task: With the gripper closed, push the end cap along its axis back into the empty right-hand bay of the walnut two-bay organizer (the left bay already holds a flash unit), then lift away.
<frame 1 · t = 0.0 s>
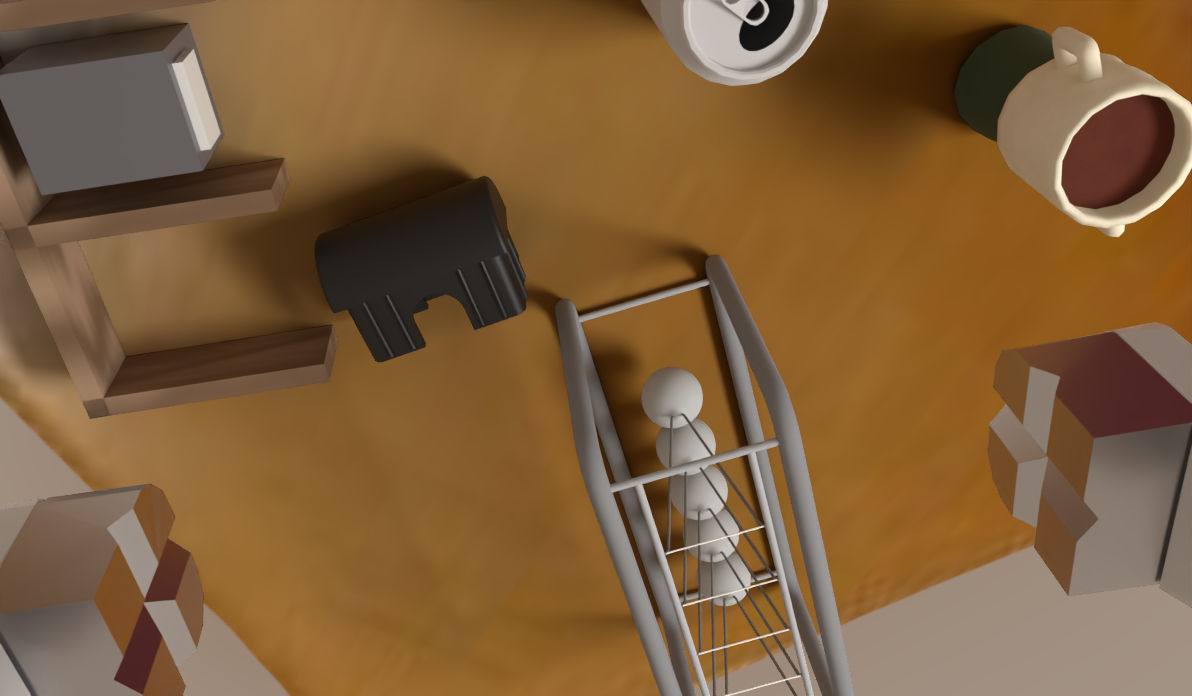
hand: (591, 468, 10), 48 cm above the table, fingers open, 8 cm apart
walnut organizer: (174, 185, 57), on the table
flash unit: (131, 91, 55), resting in walnut organizer
end cap: (428, 235, 61), on the table
newton's cradle: (686, 450, 71), on the table
character mug: (1002, 77, 60), on the table
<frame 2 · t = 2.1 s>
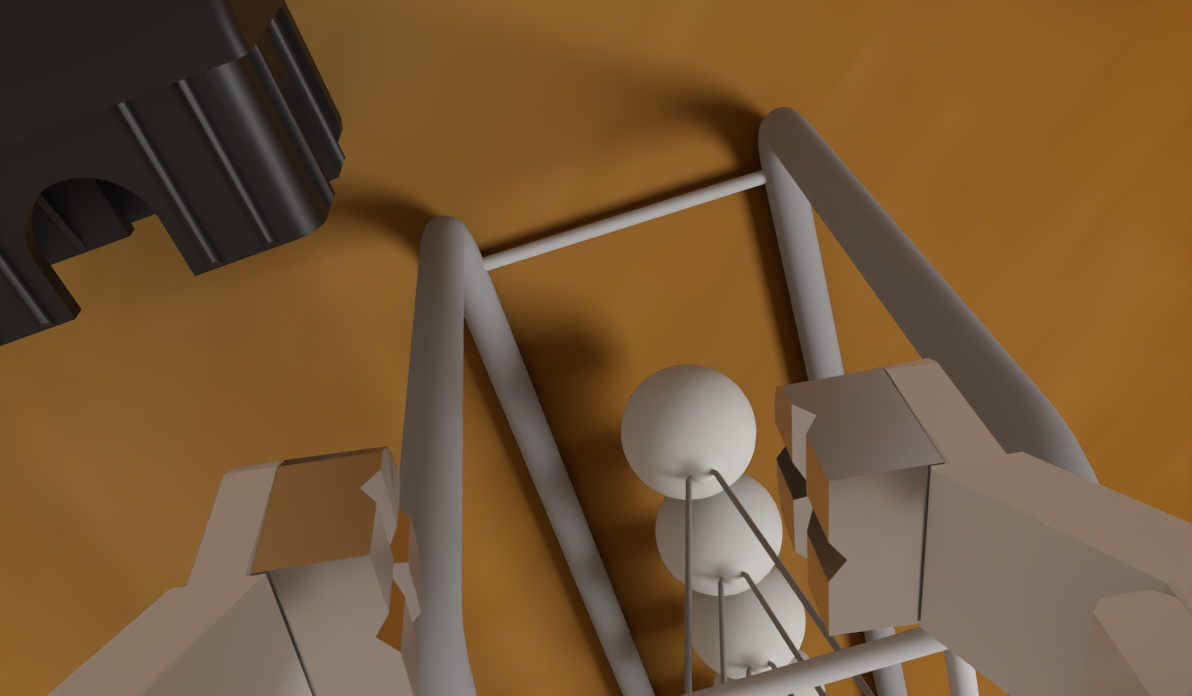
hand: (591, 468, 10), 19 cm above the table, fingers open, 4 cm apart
end cap: (126, 66, 27), on the table
newton's cradle: (716, 526, 37), on the table
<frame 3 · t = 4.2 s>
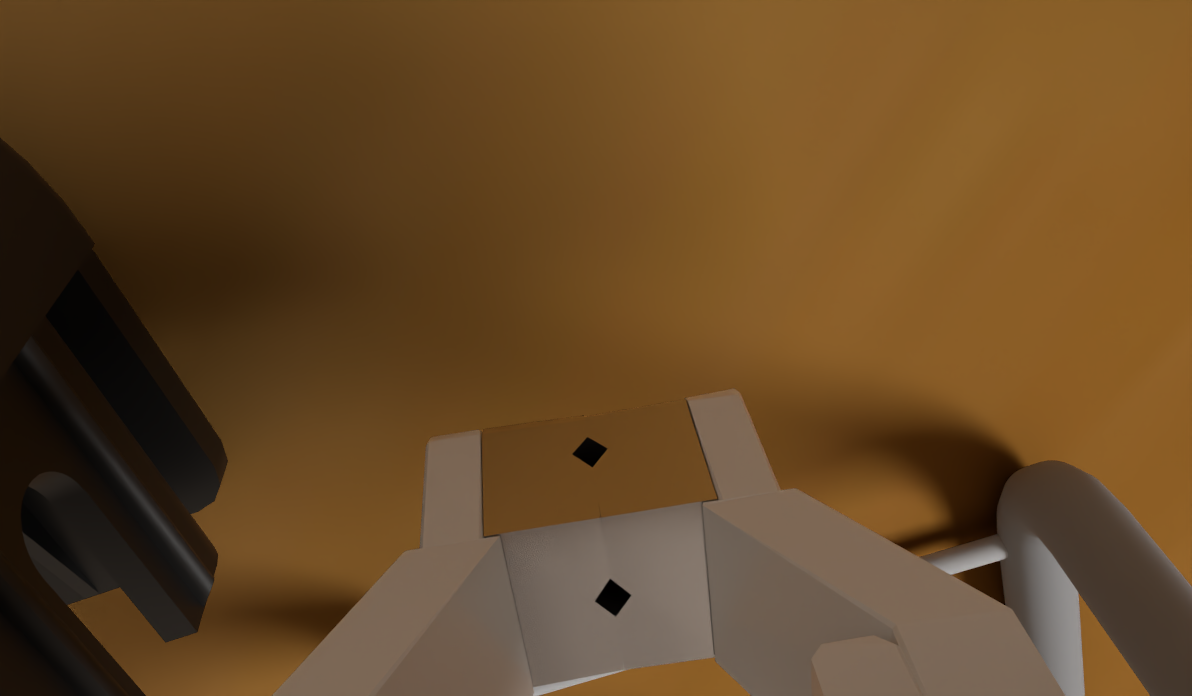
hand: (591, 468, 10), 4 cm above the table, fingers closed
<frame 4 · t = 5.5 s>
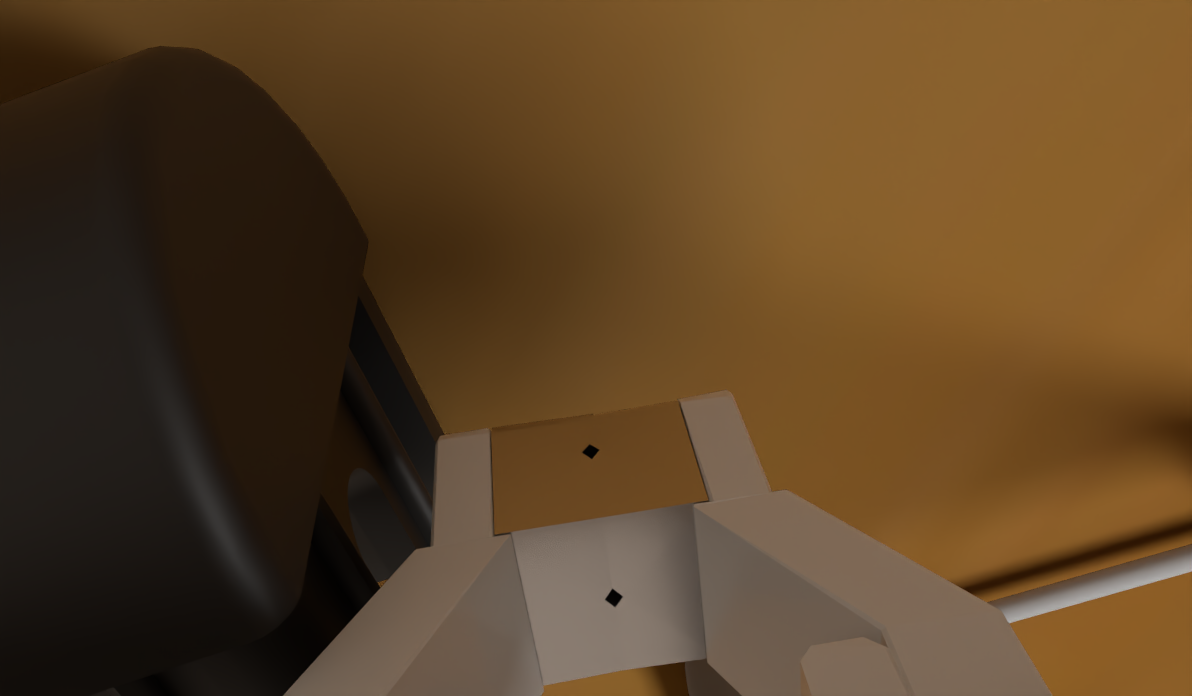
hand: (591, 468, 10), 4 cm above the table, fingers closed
end cap: (27, 365, 13), on the table, touching gripper
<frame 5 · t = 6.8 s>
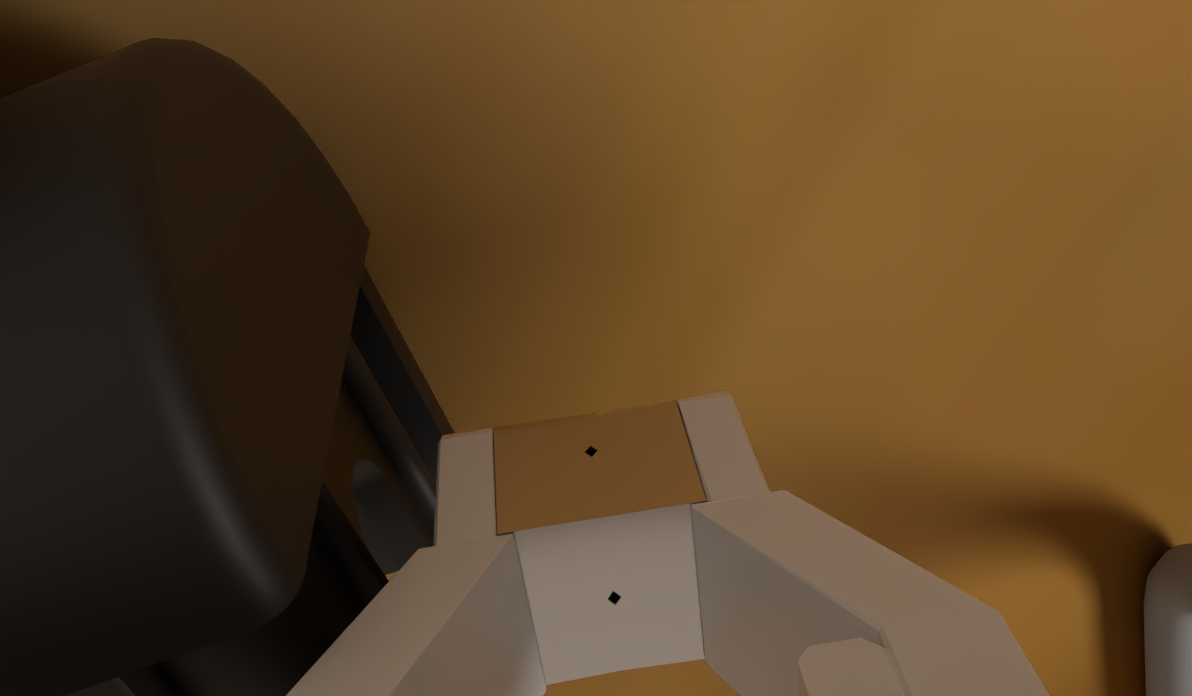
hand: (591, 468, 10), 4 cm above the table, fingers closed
end cap: (34, 364, 13), on the table, touching gripper
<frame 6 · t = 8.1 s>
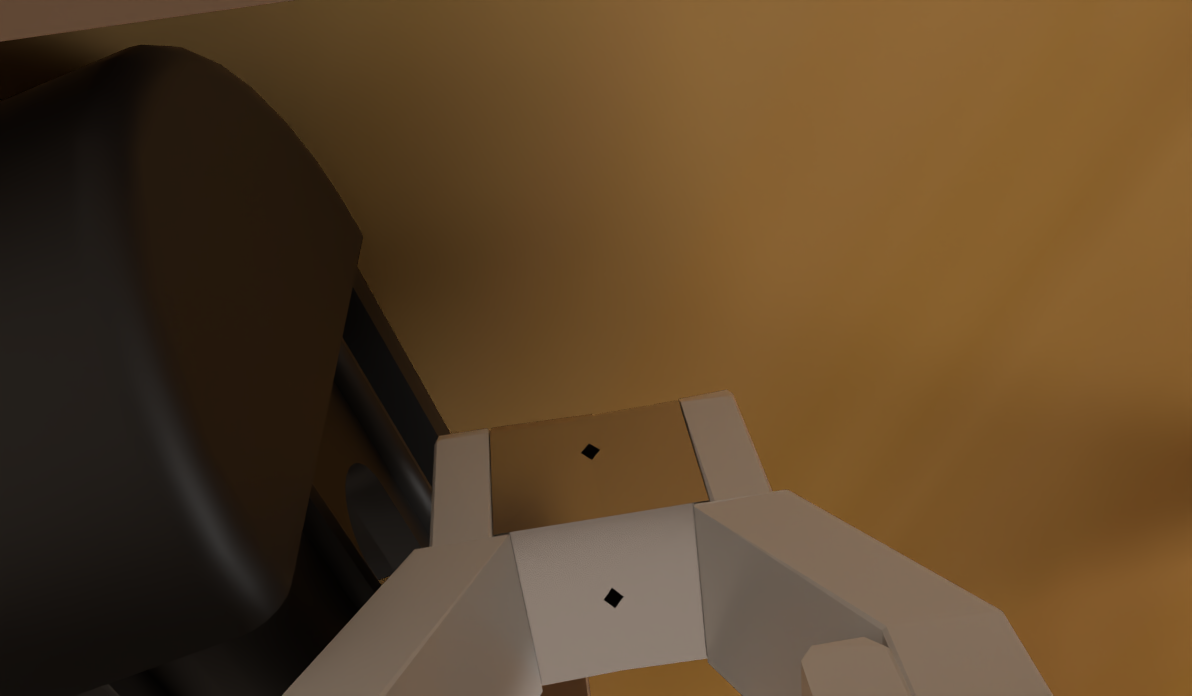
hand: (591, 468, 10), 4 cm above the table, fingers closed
end cap: (31, 371, 13), on the table, touching gripper
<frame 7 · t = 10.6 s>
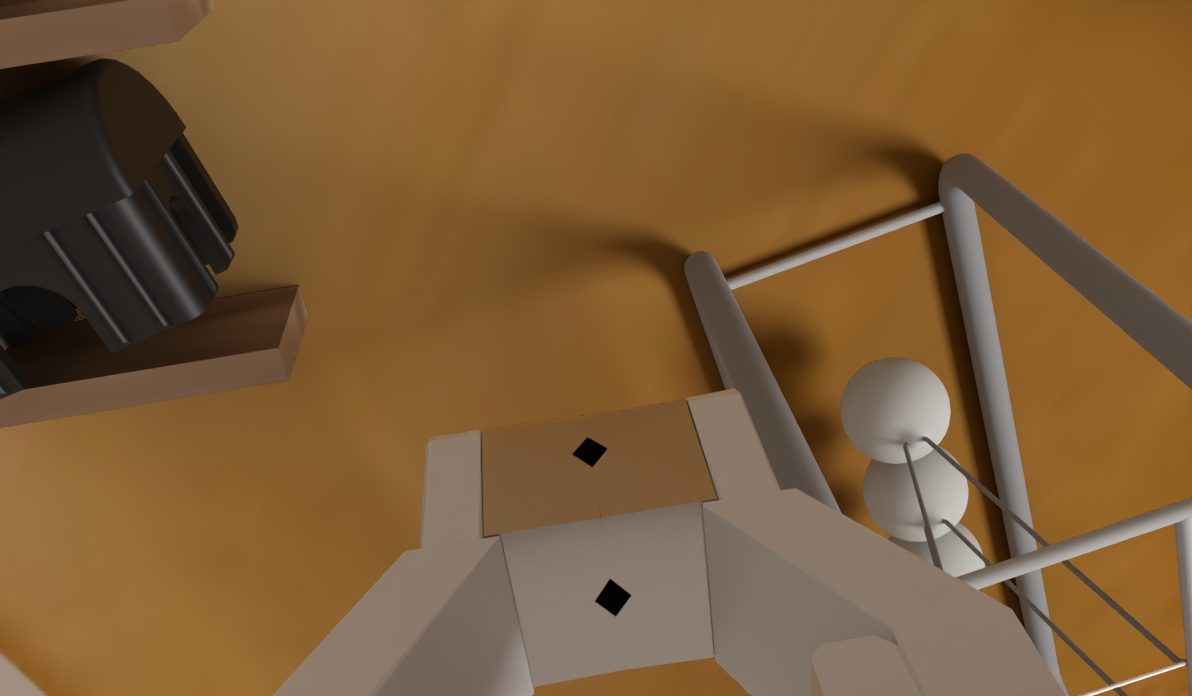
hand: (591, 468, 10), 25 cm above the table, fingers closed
walnut organizer: (0, 18, 31), on the table
end cap: (66, 189, 34), on the table
newton's cradle: (893, 494, 44), on the table
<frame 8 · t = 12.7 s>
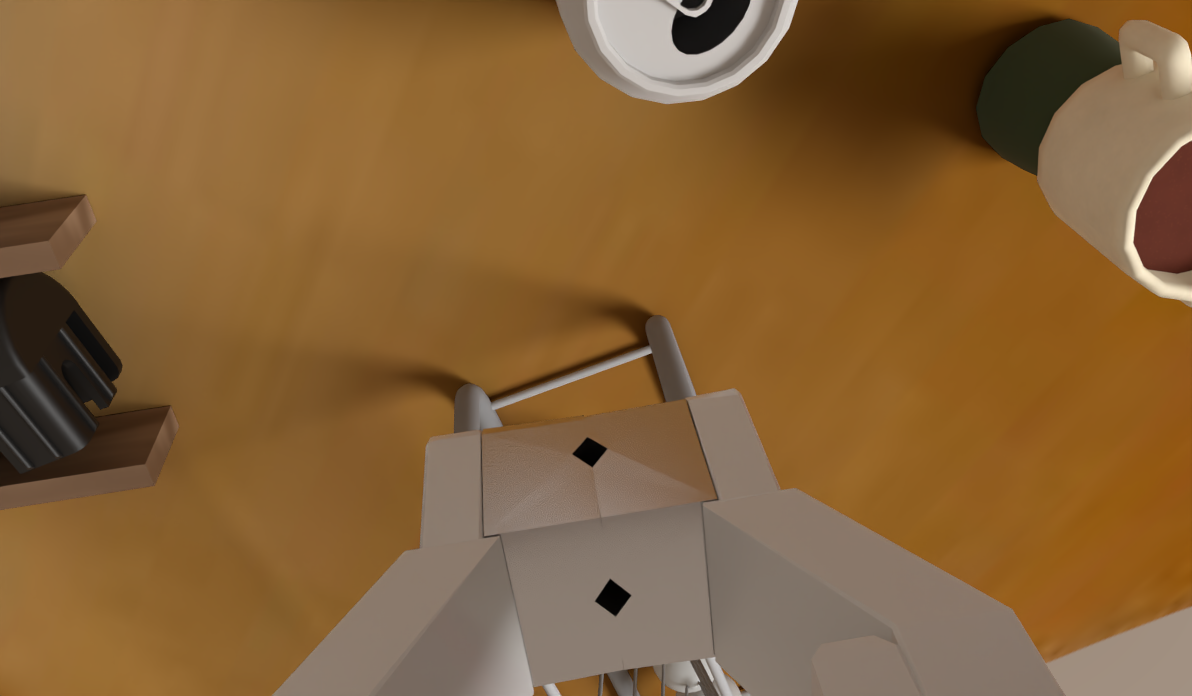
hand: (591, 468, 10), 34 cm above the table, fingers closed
newton's cradle: (651, 549, 57), on the table
character mug: (1039, 88, 45), on the table
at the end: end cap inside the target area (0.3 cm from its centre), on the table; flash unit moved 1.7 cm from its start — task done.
